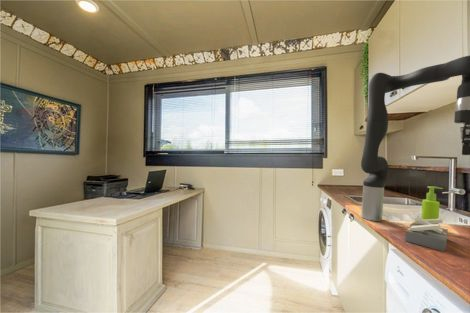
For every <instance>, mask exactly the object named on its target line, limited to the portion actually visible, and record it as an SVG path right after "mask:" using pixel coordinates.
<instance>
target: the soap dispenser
mask: <svg viewBox="0 0 470 313" xmlns="http://www.w3.org/2000/svg"><path fill="white" fill-rule="evenodd" d="M427 188H428V192H426V195H425V196H426V198H425V199H422V201H421V202H422V203H421V217H420V218H422V219H440V218H439V217H440V203H441V202H440V201H437V193H435V189H438V190H439V189H440V190H443V189H444V188H443V187H441V186H439V187H438V186H434V185H431V186H429V185H428V186H427ZM431 224H439V223H431Z"/></svg>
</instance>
